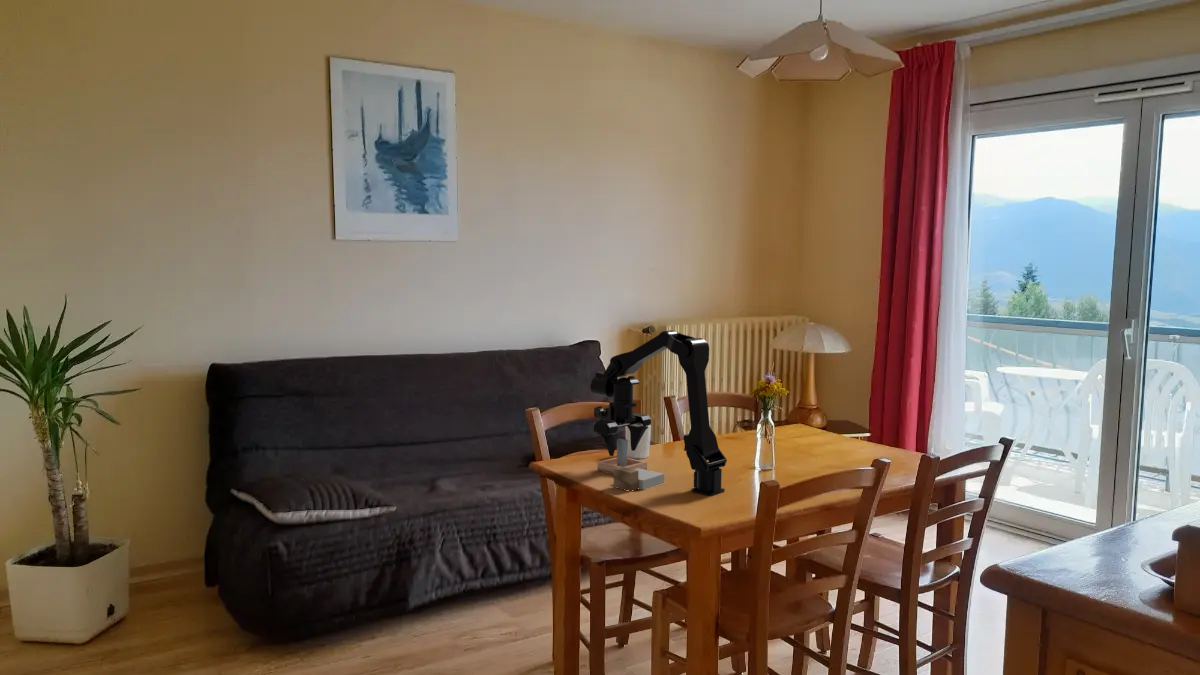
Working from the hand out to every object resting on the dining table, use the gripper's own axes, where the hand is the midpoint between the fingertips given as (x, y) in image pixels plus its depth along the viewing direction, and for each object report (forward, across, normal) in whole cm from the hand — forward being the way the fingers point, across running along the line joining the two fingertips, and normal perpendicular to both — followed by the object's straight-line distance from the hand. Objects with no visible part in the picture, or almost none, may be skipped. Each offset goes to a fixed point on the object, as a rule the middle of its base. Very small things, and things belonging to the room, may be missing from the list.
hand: (622, 453), depth 233 cm
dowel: (+4, 0, 0) cm, 4 cm away
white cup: (+5, -16, -8) cm, 19 cm away
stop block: (+5, +13, +13) cm, 19 cm away
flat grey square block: (+6, +7, +13) cm, 15 cm away
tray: (+5, 0, 0) cm, 5 cm away
